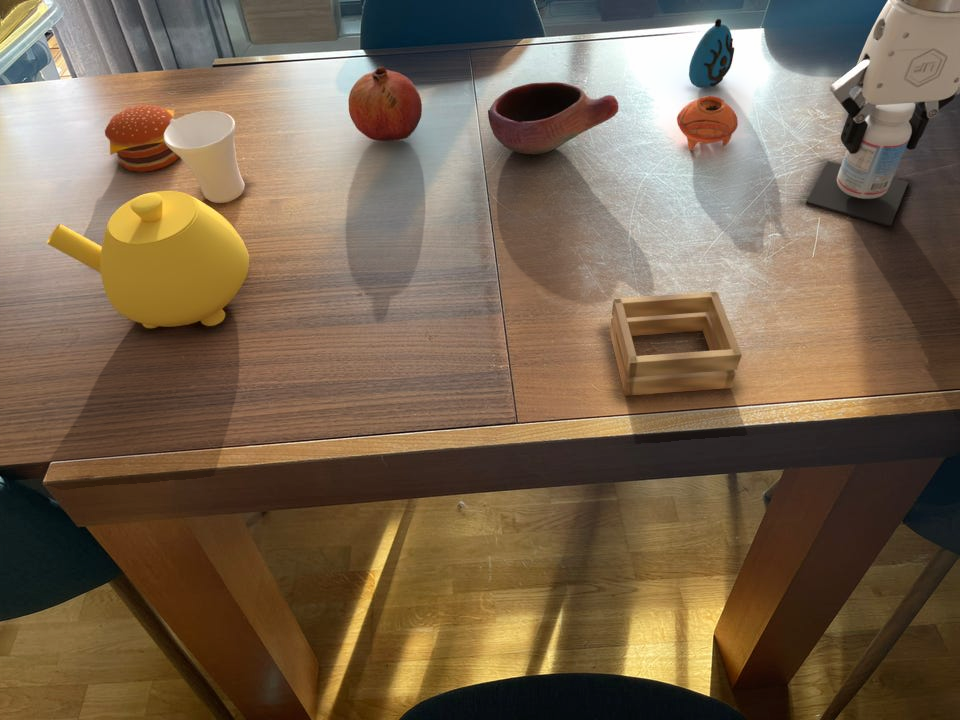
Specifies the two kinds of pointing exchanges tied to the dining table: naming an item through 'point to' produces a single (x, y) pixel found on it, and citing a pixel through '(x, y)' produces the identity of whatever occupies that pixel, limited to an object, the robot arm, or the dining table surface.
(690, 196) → the dining table surface
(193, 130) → the cup
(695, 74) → the ornament
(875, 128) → the pill bottle
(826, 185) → the plate
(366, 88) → the fruit
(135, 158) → the hamburger
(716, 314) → the crate
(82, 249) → the teapot
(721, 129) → the pot
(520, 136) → the bowl
